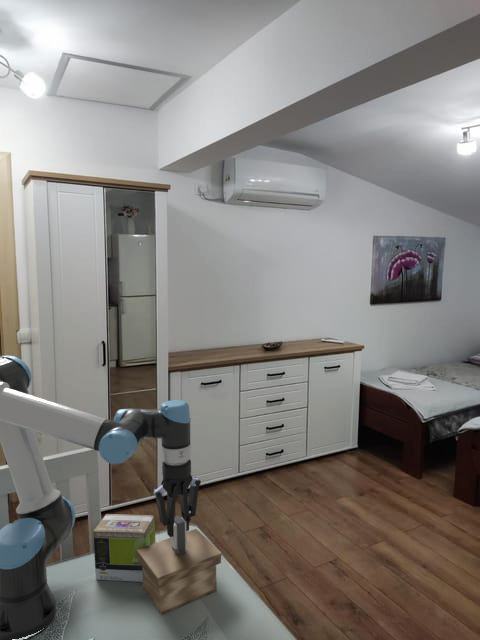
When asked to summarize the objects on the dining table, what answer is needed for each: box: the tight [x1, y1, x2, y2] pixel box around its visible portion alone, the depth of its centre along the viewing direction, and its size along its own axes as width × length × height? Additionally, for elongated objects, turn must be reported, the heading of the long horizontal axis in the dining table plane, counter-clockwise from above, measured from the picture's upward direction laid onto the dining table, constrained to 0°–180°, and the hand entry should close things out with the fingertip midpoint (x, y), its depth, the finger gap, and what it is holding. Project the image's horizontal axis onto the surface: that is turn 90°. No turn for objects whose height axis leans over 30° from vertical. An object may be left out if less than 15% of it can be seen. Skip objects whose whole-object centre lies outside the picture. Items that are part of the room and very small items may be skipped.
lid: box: [137, 514, 222, 588], centre depth 126 cm, size 18×14×12 cm
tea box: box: [92, 513, 157, 583], centre depth 135 cm, size 15×10×15 cm, turn 84°
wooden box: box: [142, 565, 218, 616], centre depth 127 cm, size 16×12×10 cm
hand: (178, 544), depth 126 cm, fingers closed on lid, 2 cm apart
